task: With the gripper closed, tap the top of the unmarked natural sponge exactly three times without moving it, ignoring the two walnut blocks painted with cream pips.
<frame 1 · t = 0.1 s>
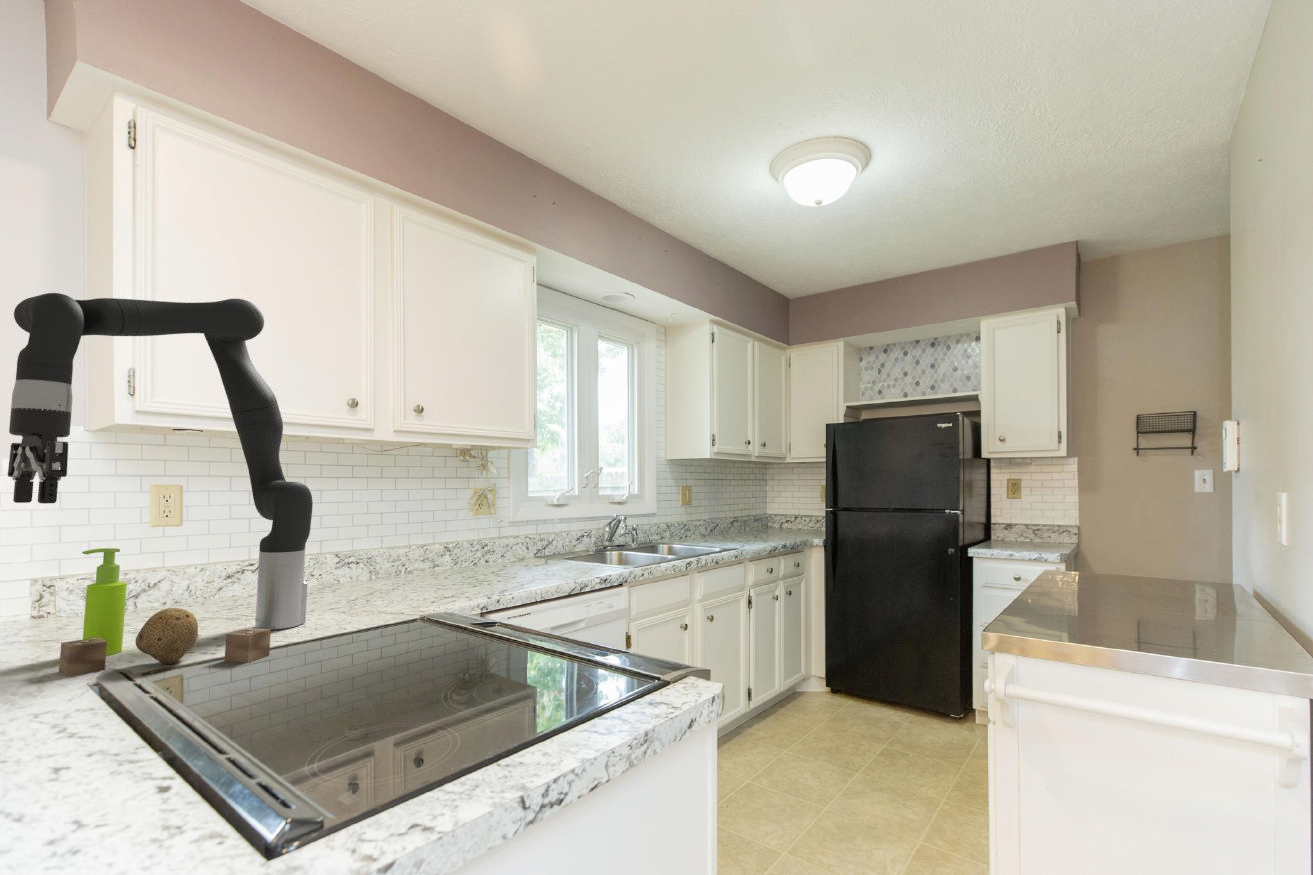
hand: (34, 503, 108), 29 cm above the counter, fingers open, 8 cm apart
walnut block two pips: (247, 658, 119), on the counter
soap dispenser: (98, 654, 121), on the counter
walnut block three pips: (81, 671, 110), on the counter
natural sponge: (166, 664, 115), on the counter
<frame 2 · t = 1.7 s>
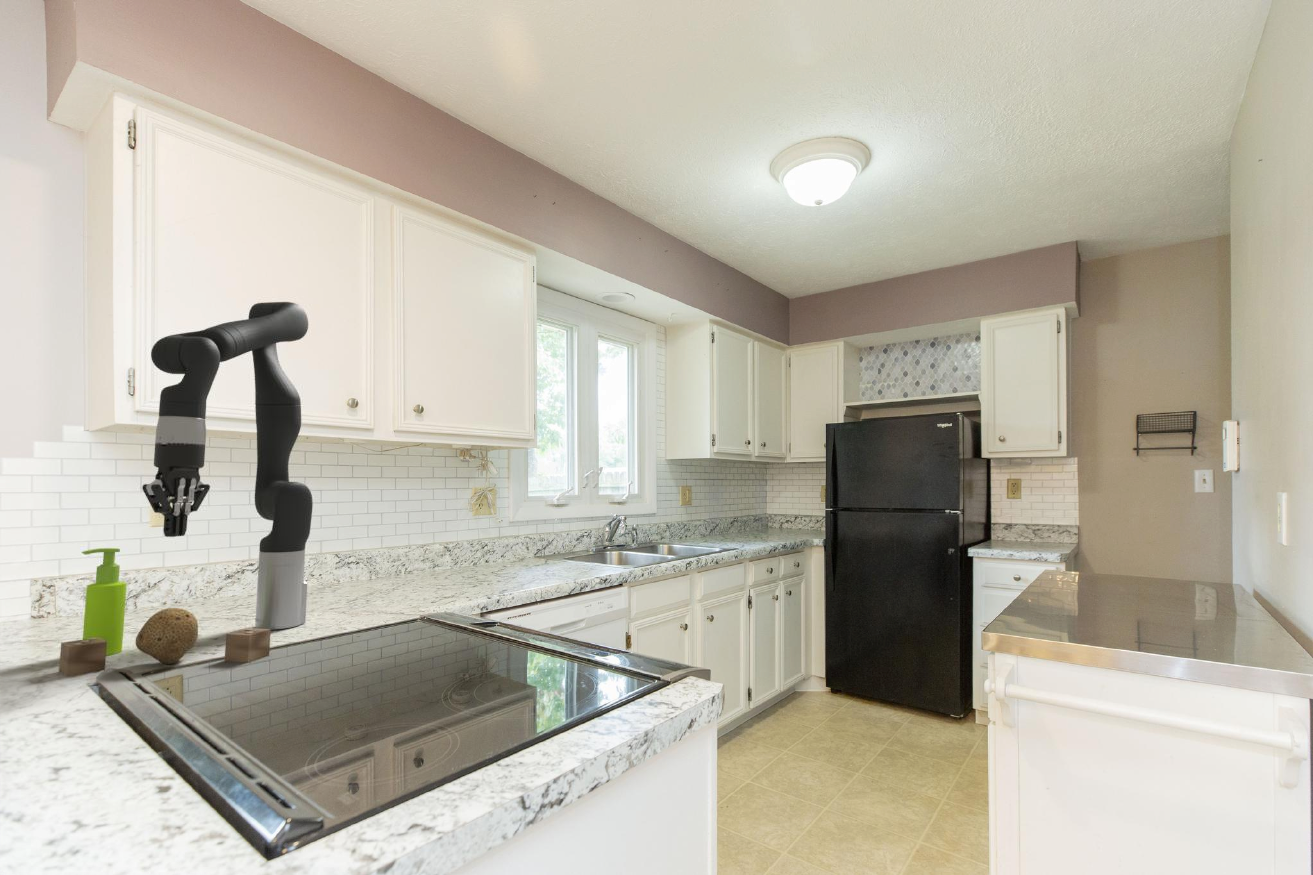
hand: (174, 535, 117), 23 cm above the counter, fingers closed
nothing on the counter moved.
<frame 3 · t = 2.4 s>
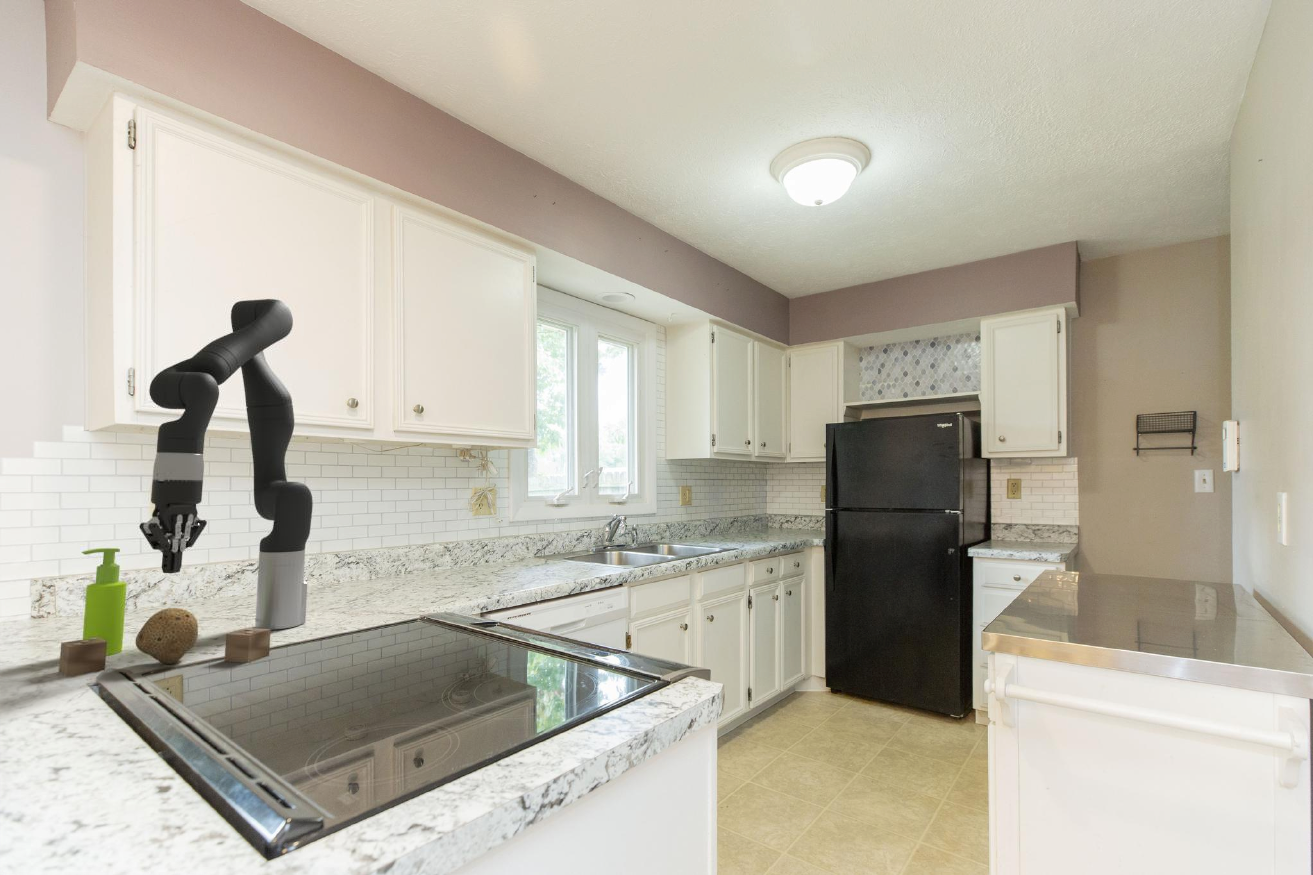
hand: (171, 572, 116), 16 cm above the counter, fingers closed
nothing on the counter moved.
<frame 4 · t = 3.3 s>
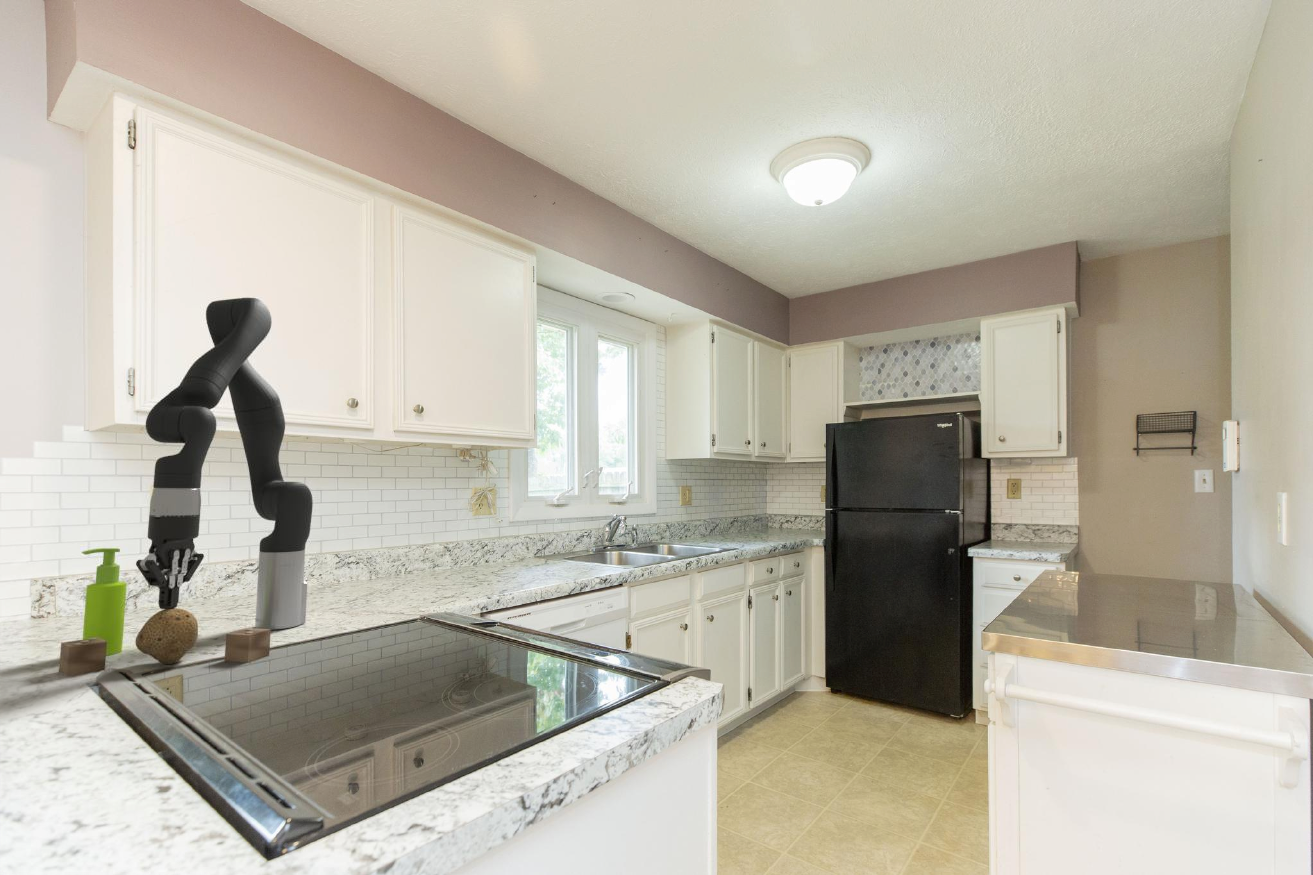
hand: (167, 608, 116), 10 cm above the counter, fingers closed
natural sponge: (166, 665, 115), on the counter, touching gripper
everything else where it was.
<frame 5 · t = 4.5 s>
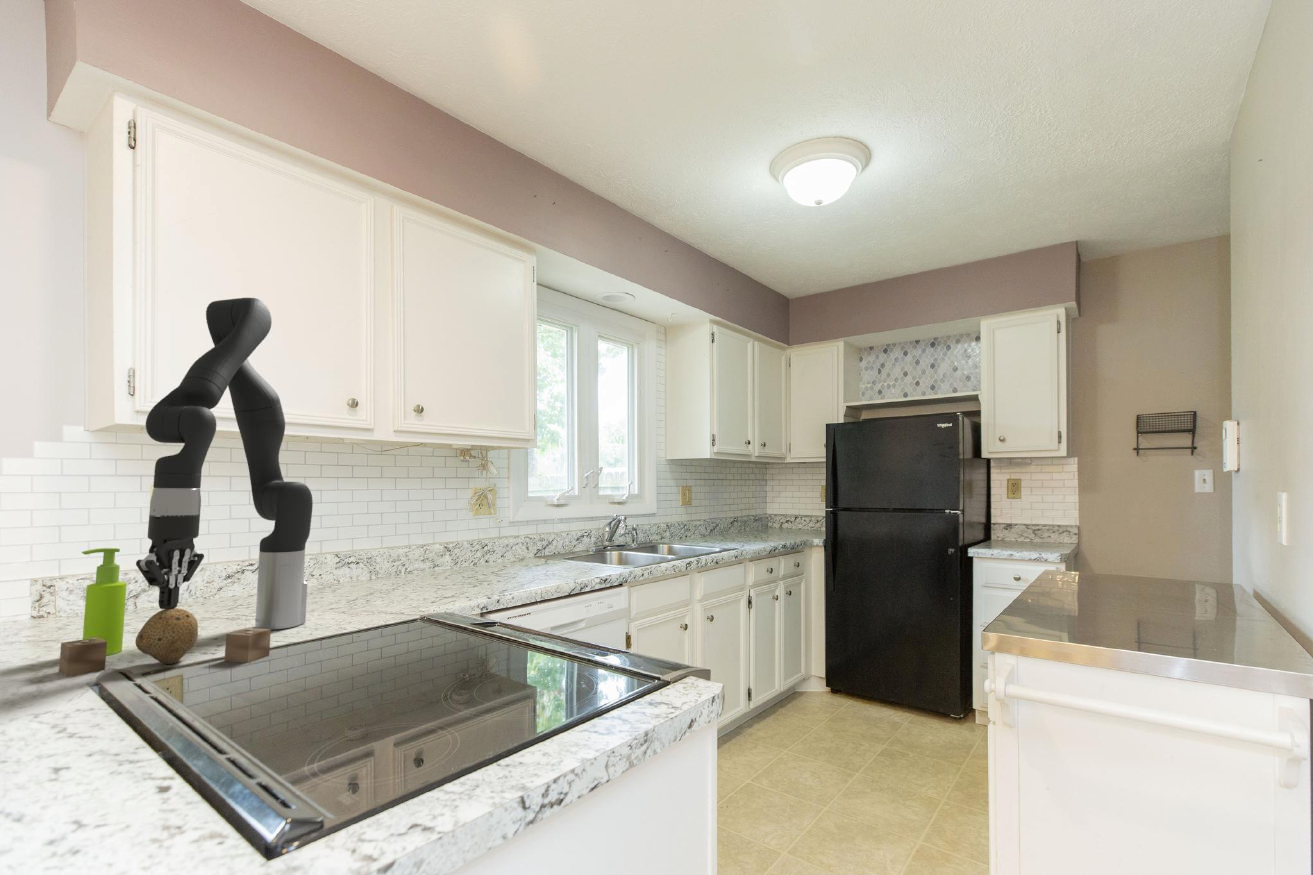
hand: (168, 608, 116), 10 cm above the counter, fingers closed
nothing on the counter moved.
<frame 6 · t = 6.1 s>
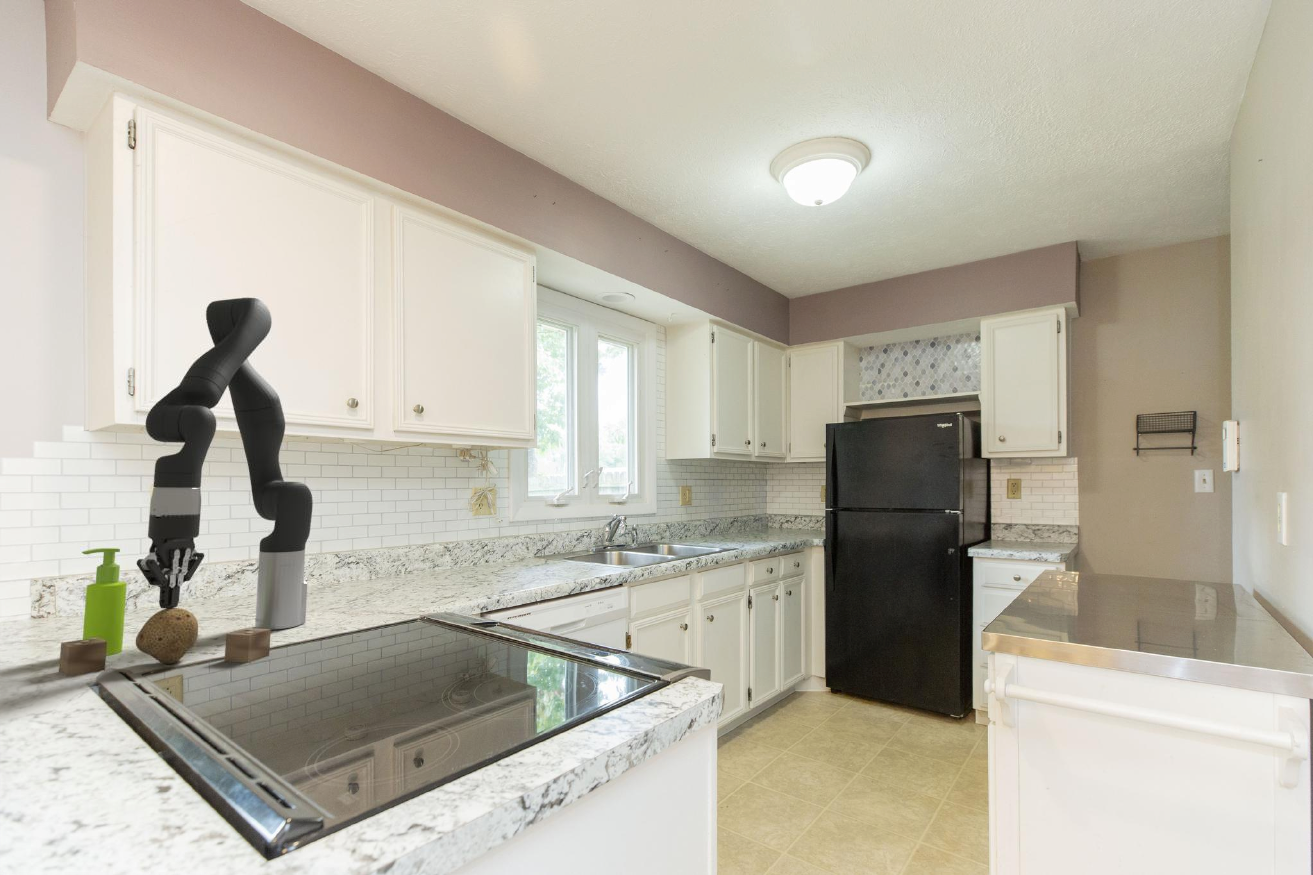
hand: (168, 607, 116), 10 cm above the counter, fingers closed
natural sponge: (166, 664, 115), on the counter
everything else where it was.
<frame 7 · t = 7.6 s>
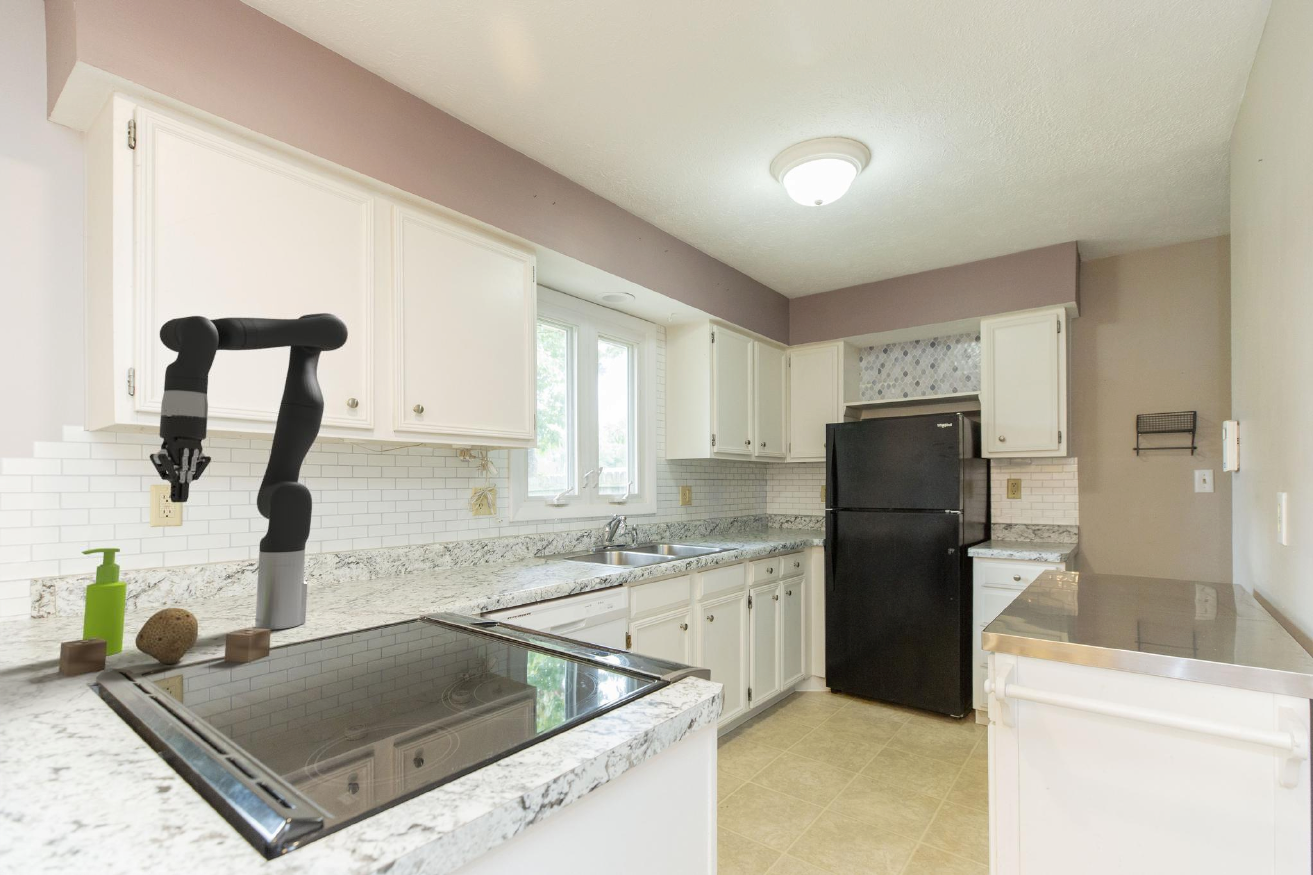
hand: (178, 502, 126), 29 cm above the counter, fingers closed
nothing on the counter moved.
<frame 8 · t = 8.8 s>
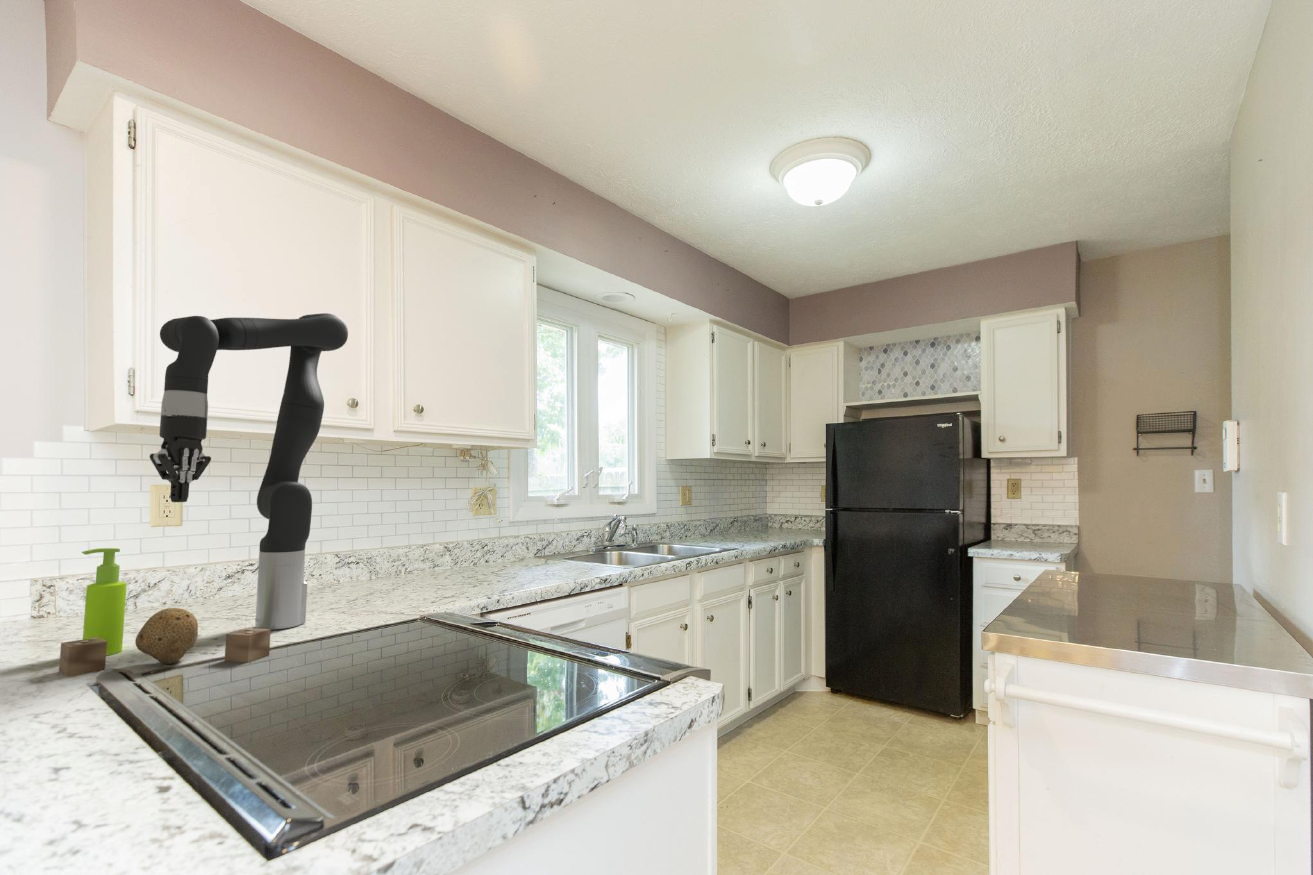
hand: (178, 502, 126), 29 cm above the counter, fingers closed
nothing on the counter moved.
at the end: natural sponge moved 0.2 cm from its start; natural sponge tilted 0°; the gripper is holding nothing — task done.
